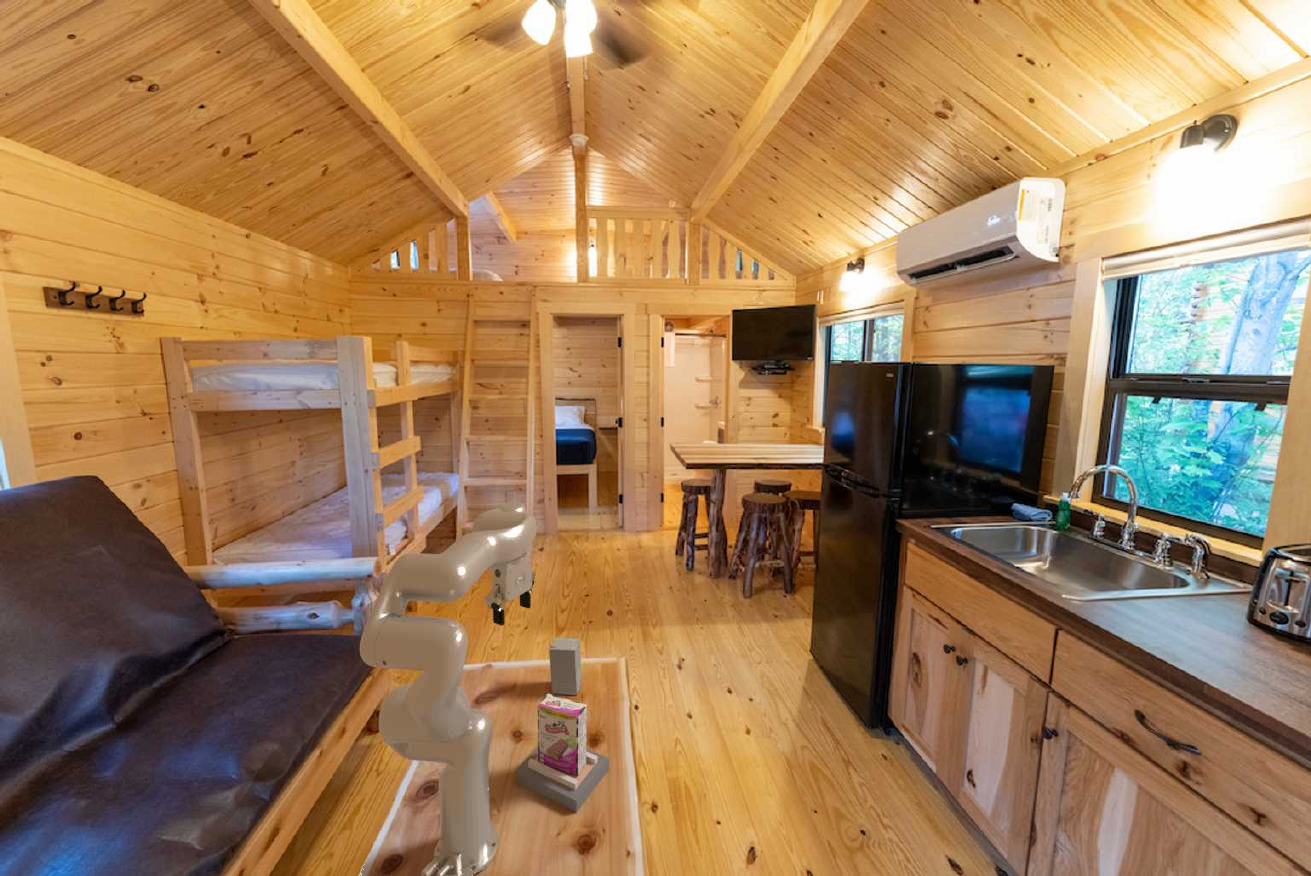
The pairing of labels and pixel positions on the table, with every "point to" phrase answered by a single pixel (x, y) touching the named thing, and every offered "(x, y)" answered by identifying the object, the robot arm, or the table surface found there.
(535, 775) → the display plinth
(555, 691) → the skincare box
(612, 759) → the table surface
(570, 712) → the candy bar box
